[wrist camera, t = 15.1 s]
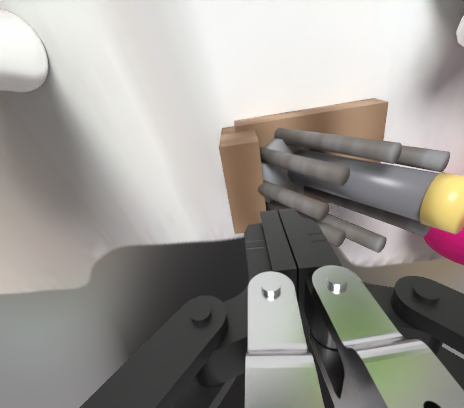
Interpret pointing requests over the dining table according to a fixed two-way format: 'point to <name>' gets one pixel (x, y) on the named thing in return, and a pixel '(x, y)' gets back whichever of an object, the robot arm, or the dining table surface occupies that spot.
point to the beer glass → (20, 55)
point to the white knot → (460, 32)
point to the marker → (396, 190)
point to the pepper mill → (447, 244)
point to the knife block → (314, 166)
